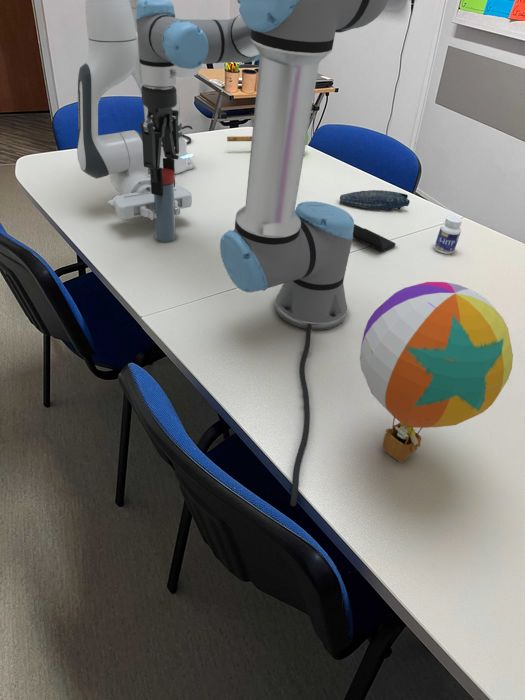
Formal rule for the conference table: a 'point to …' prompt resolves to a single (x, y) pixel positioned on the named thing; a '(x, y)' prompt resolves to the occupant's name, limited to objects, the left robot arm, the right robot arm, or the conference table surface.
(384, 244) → the handheld gaming console
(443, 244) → the pill bottle
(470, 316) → the toy
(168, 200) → the blue-grey tall cylinder
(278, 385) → the conference table surface
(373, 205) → the fish model
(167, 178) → the lid
